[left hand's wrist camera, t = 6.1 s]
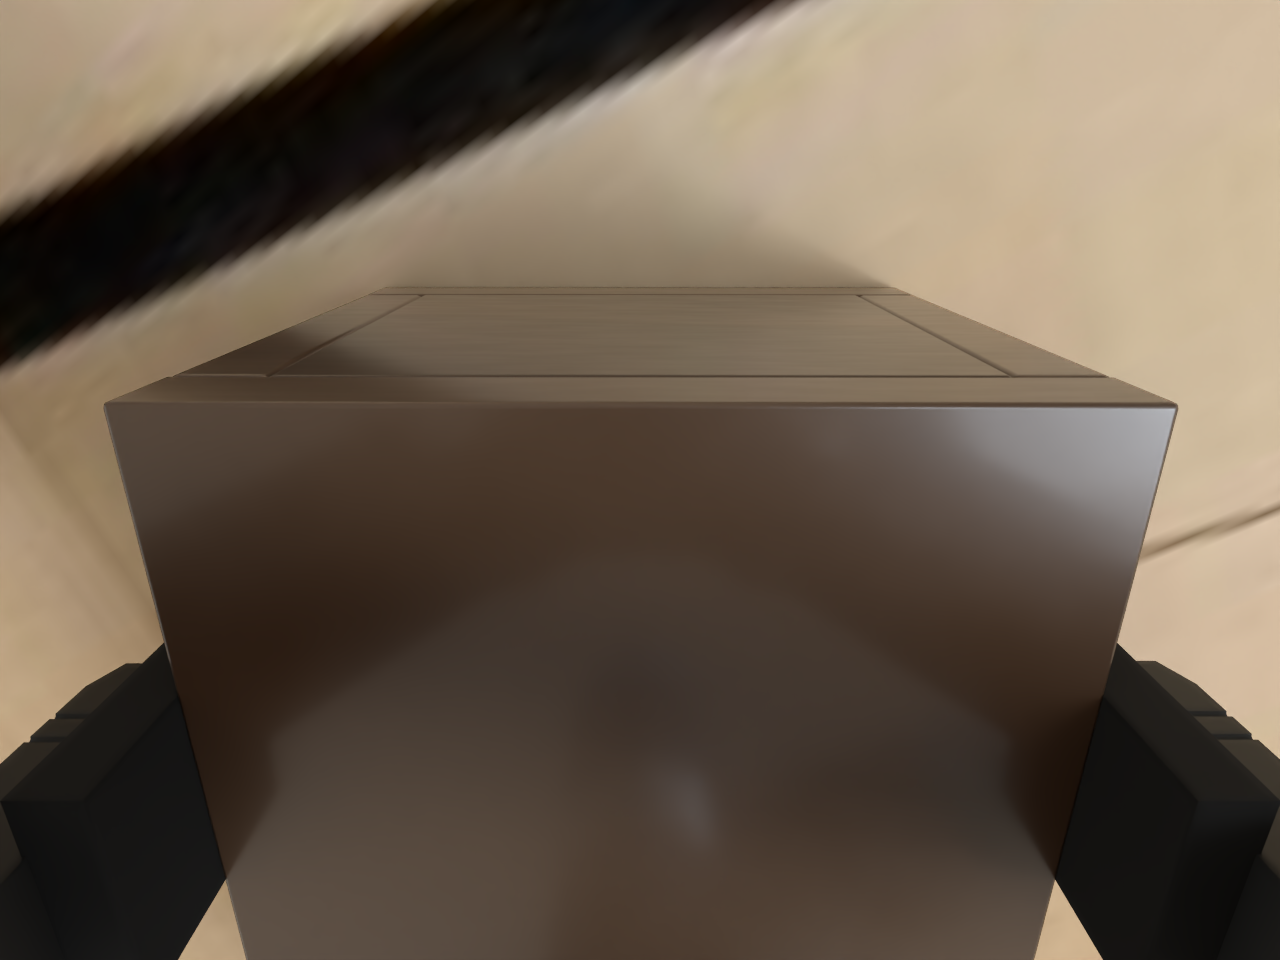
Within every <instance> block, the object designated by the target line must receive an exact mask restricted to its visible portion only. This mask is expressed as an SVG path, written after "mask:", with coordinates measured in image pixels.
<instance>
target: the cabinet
mask: <svg viewBox="0 0 1280 960" xmlns="http://www.w3.org/2000/svg"><path fill="white" fill-rule="evenodd" d="M104 412H105V416H106V420H107V423H108V427H109V431H110V435H111V439H112V443H113V447H114V450H115V454H116V458H117V462H118V466H119V470H120V474H121V477H122V481H123V485H124V489H125V493H126V497H127V501H128V504H129V508H130V512H131V516H132V520H133V524H134V528H135V531H136V535H137V539H138V543H139V547H140V551H141V555H142V558H143V562H144V566H145V570H146V574H147V578H148V582H149V585H150V589H151V593H152V597H153V601H154V605H155V609H156V612H157V616H158V620H159V624H160V628H161V632H162V636H163V639H164V643H165V647H166V651H167V655H168V659H169V663H170V666H171V670H172V674H173V678H174V682H175V686H176V690H177V693H178V697H179V701H180V705H181V709H182V713H183V717H184V720H185V724H186V728H187V732H188V736H189V740H190V744H191V747H192V751H193V755H194V759H195V763H196V767H197V771H198V774H199V778H200V782H201V786H202V790H203V794H204V798H205V802H206V805H207V809H208V813H209V817H210V821H211V825H212V829H213V832H214V836H215V840H216V844H217V848H218V852H219V856H220V859H221V863H222V867H223V871H224V875H225V879H226V883H227V886H228V890H229V894H230V898H231V902H232V906H233V910H234V913H235V917H236V921H237V925H238V929H239V933H240V937H241V940H242V944H243V948H244V952H245V956H246V960H1034V958H1035V954H1036V950H1037V946H1038V942H1039V939H1040V935H1041V931H1042V927H1043V923H1044V920H1045V916H1046V912H1047V908H1048V904H1049V900H1050V897H1051V893H1052V889H1053V885H1054V881H1055V878H1056V874H1057V870H1058V866H1059V862H1060V858H1061V855H1062V851H1063V847H1064V843H1065V839H1066V836H1067V832H1068V828H1069V824H1070V820H1071V816H1072V813H1073V809H1074V805H1075V801H1076V797H1077V794H1078V790H1079V786H1080V782H1081V778H1082V774H1083V771H1084V767H1085V763H1086V759H1087V755H1088V752H1089V748H1090V744H1091V740H1092V736H1093V732H1094V729H1095V725H1096V721H1097V717H1098V713H1099V710H1100V706H1101V702H1102V698H1103V694H1104V690H1105V687H1106V683H1107V679H1108V675H1109V671H1110V668H1111V664H1112V660H1113V656H1114V652H1115V648H1116V645H1117V641H1118V637H1119V633H1120V629H1121V626H1122V622H1123V618H1124V614H1125V610H1126V606H1127V603H1128V599H1129V595H1130V591H1131V587H1132V584H1133V580H1134V576H1135V572H1136V568H1137V564H1138V561H1139V557H1140V553H1141V549H1142V545H1143V542H1144V538H1145V534H1146V530H1147V526H1148V522H1149V519H1150V515H1151V511H1152V507H1153V503H1154V500H1155V496H1156V492H1157V488H1158V484H1159V480H1160V477H1161V473H1162V469H1163V465H1164V461H1165V458H1166V454H1167V450H1168V446H1169V442H1170V438H1171V435H1172V431H1173V427H1174V423H1175V419H1176V416H1177V412H1178V405H1177V404H1176V403H1174V402H1172V401H1169V400H1167V399H1164V398H1162V397H1159V396H1157V395H1155V394H1152V393H1150V392H1147V391H1145V390H1142V389H1140V388H1138V387H1135V386H1133V385H1130V384H1128V383H1126V382H1123V381H1121V380H1118V379H1116V378H1109V377H1108V376H1106V375H1104V374H1101V373H1099V372H1096V371H1094V370H1091V369H1089V368H1087V367H1084V366H1082V365H1079V364H1077V363H1075V362H1072V361H1070V360H1067V359H1065V358H1063V357H1060V356H1058V355H1055V354H1053V353H1050V352H1048V351H1046V350H1043V349H1041V348H1038V347H1036V346H1034V345H1031V344H1029V343H1026V342H1024V341H1022V340H1019V339H1017V338H1014V337H1012V336H1010V335H1007V334H1005V333H1002V332H1000V331H997V330H995V329H993V328H990V327H988V326H985V325H983V324H981V323H978V322H976V321H973V320H971V319H969V318H966V317H964V316H961V315H959V314H956V313H954V312H952V311H949V310H947V309H944V308H942V307H940V306H937V305H935V304H932V303H930V302H928V301H925V300H923V299H920V298H918V297H916V296H913V295H911V294H908V293H906V292H903V291H901V290H899V289H896V288H468V287H386V288H383V289H381V290H379V291H376V292H374V293H371V294H369V295H367V296H365V297H362V298H360V299H357V300H355V301H353V302H350V303H348V304H345V305H343V306H341V307H338V308H336V309H333V310H331V311H329V312H326V313H324V314H321V315H319V316H317V317H314V318H312V319H309V320H307V321H305V322H302V323H300V324H297V325H295V326H292V327H290V328H288V329H285V330H283V331H280V332H278V333H276V334H273V335H271V336H268V337H266V338H264V339H261V340H259V341H256V342H254V343H252V344H249V345H247V346H244V347H242V348H240V349H237V350H235V351H232V352H230V353H228V354H225V355H223V356H220V357H218V358H216V359H213V360H211V361H208V362H206V363H204V364H201V365H199V366H196V367H194V368H192V369H189V370H187V371H184V372H182V373H180V374H177V375H175V376H173V377H167V378H164V379H162V380H159V381H157V382H154V383H152V384H150V385H147V386H145V387H142V388H140V389H137V390H135V391H133V392H130V393H128V394H125V395H123V396H121V397H118V398H116V399H113V400H111V401H108V402H106V403H105V404H104Z"/></svg>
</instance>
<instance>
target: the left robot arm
mask: <svg viewBox="0 0 1280 960" xmlns="http://www.w3.org/2000/svg"><path fill="white" fill-rule="evenodd" d="M225 880H226V879H225V875H224V871H223V867H222V863H221V859H220V856H219V852H218V848H217V844H216V840H215V836H214V832H213V829H212V825H211V821H210V817H209V813H208V809H207V805H206V802H205V798H204V794H203V790H202V786H201V782H200V778H199V774H198V771H197V767H196V763H195V759H194V755H193V751H192V747H191V744H190V740H189V736H188V732H187V728H186V724H185V720H184V717H183V713H182V709H181V705H180V701H179V697H178V693H177V690H176V686H175V682H174V678H173V674H172V670H171V666H170V663H169V659H168V655H167V651H166V647H165V643H163V644H162V645H161V646H160V647H159V648H158V649H157V650H156V651H155V652H154V653H153V654H152V655H151V656H150V657H149V658H148V659H147V660H146V661H145V662H143V663H126V664H125V665H123V666H121V667H119V668H117V669H116V670H114V671H112V672H110V673H109V674H107V675H105V676H103V677H102V678H100V679H98V680H96V681H95V682H93V683H91V684H89V685H88V686H86V687H85V688H84V689H82V690H81V691H80V692H79V693H78V694H77V695H76V696H75V697H74V698H73V699H71V700H70V701H69V702H68V703H67V704H66V705H65V706H64V707H63V708H62V709H60V710H59V711H58V712H57V713H56V717H55V719H49V720H48V721H47V722H46V723H45V724H44V725H43V726H42V727H41V728H39V729H38V730H37V731H36V732H35V733H34V734H33V735H32V736H31V740H30V742H29V743H23V744H22V745H21V746H20V747H19V748H17V749H16V750H15V751H14V752H13V753H12V754H11V755H10V756H9V757H8V758H6V759H5V760H4V761H3V762H2V763H1V764H0V960H178V958H179V957H180V955H181V953H182V952H183V950H184V948H185V947H186V945H187V943H188V942H189V940H190V938H191V937H192V935H193V933H194V932H195V930H196V928H197V927H198V925H199V923H200V922H201V920H202V918H203V916H204V915H205V913H206V911H207V910H208V908H209V906H210V905H211V903H212V901H213V900H214V898H215V896H216V895H217V893H218V891H219V890H220V888H221V886H222V885H223V883H224V881H225ZM1055 880H1056V882H1057V883H1058V885H1059V887H1060V888H1061V890H1062V892H1063V893H1064V895H1065V897H1066V898H1067V900H1068V902H1069V903H1070V905H1071V907H1072V908H1073V910H1074V912H1075V913H1076V915H1077V917H1078V918H1079V920H1080V922H1081V923H1082V925H1083V927H1084V929H1085V930H1086V932H1087V934H1088V935H1089V937H1090V939H1091V940H1092V942H1093V944H1094V945H1095V947H1096V949H1097V950H1098V952H1099V954H1100V955H1101V957H1102V959H1103V960H1280V759H1279V758H1278V757H1277V756H1275V755H1274V754H1273V753H1272V752H1271V751H1270V750H1269V749H1268V748H1267V747H1265V746H1264V745H1263V744H1262V743H1261V742H1260V741H1259V740H1253V739H1252V737H1251V733H1250V732H1249V731H1248V730H1247V729H1245V728H1244V727H1243V726H1242V725H1241V724H1240V723H1239V722H1238V721H1237V720H1236V719H1234V718H1233V717H1227V715H1226V710H1224V709H1223V708H1222V707H1221V706H1220V705H1219V704H1218V703H1217V702H1216V701H1214V700H1213V699H1212V698H1211V697H1210V696H1209V695H1208V694H1207V693H1206V692H1204V691H1203V690H1202V689H1201V688H1200V687H1199V686H1198V685H1197V684H1195V683H1193V682H1192V681H1190V680H1188V679H1186V678H1185V677H1183V676H1181V675H1179V674H1177V673H1176V672H1174V671H1172V670H1170V669H1169V668H1167V667H1165V666H1163V665H1162V664H1160V663H1158V662H1156V661H1135V660H1134V659H1133V658H1132V657H1131V656H1130V655H1129V654H1128V653H1127V652H1126V651H1125V650H1124V649H1123V648H1122V647H1121V646H1120V645H1119V644H1118V643H1117V645H1116V648H1115V652H1114V656H1113V660H1112V664H1111V668H1110V671H1109V675H1108V679H1107V683H1106V687H1105V690H1104V694H1103V698H1102V702H1101V706H1100V710H1099V713H1098V717H1097V721H1096V725H1095V729H1094V732H1093V736H1092V740H1091V744H1090V748H1089V752H1088V755H1087V759H1086V763H1085V767H1084V771H1083V774H1082V778H1081V782H1080V786H1079V790H1078V794H1077V797H1076V801H1075V805H1074V809H1073V813H1072V816H1071V820H1070V824H1069V828H1068V832H1067V836H1066V839H1065V843H1064V847H1063V851H1062V855H1061V858H1060V862H1059V866H1058V870H1057V874H1056V878H1055Z"/></svg>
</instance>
